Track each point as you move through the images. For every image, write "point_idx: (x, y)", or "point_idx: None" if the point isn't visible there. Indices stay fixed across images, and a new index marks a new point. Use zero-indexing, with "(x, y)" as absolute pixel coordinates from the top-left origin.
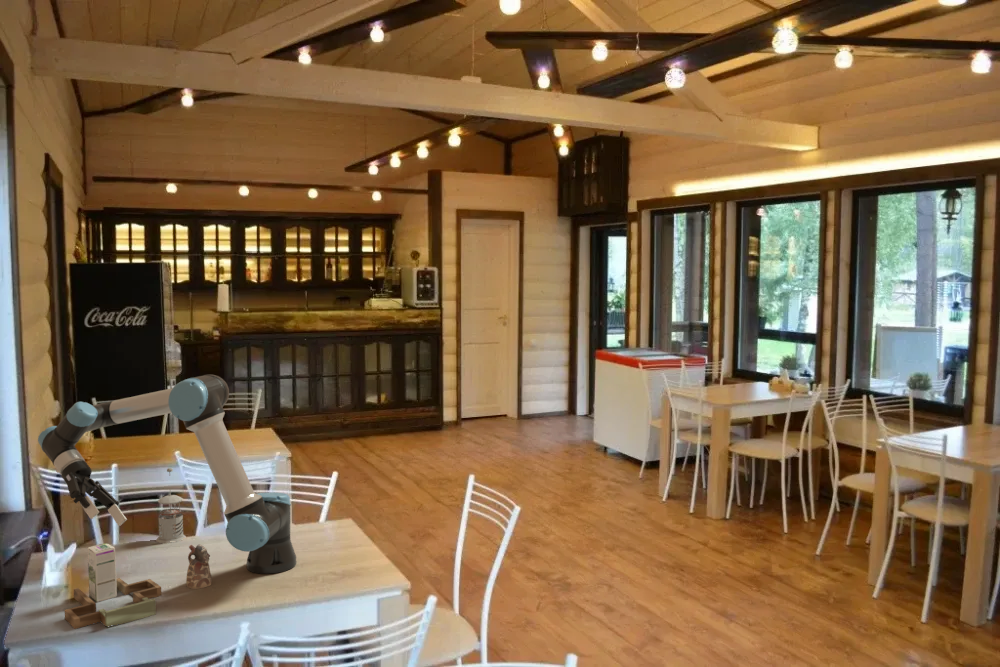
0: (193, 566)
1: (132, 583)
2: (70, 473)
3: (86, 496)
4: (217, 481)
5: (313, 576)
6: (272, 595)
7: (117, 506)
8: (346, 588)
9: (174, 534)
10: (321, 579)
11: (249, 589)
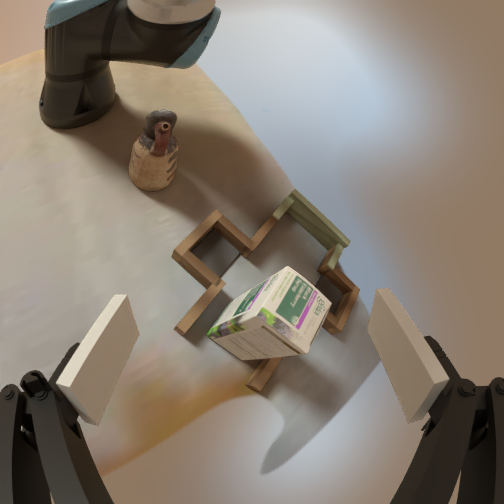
0: (177, 147)
1: (205, 276)
2: None
3: (446, 376)
4: None
5: (132, 65)
6: (196, 90)
7: (67, 366)
8: None
9: None
10: None
11: (175, 109)
